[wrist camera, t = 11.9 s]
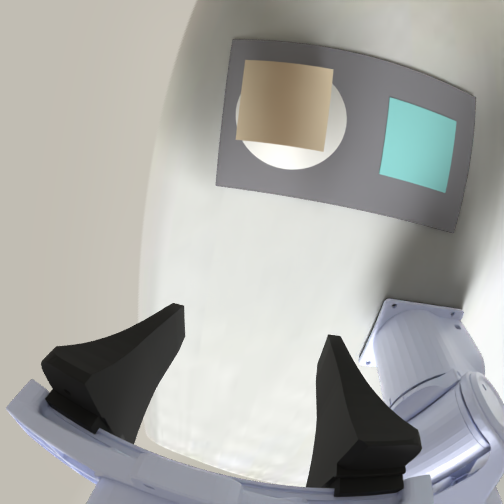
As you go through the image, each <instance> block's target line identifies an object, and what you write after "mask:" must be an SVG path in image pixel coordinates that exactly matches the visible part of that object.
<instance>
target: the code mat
mask: <svg viewBox="0 0 504 504" xmlns="http://www.w3.org/2000/svg"><path fill="white" fill-rule="evenodd" d="M245 60H259V61H274V62H285V63H294V64H302V65H309V66H316V67H322V68H328V69H333V80H332V89H331V99H330V107H329V115H328V123H327V131H326V138H325V145H324V152H321V151H316V150H310V149H304V148H298V147H291V146H285V145H277V144H270V143H262V142H253V141H243V140H236V132H237V123H238V115H239V106H240V98H241V90H242V82H243V74H244V66H245ZM475 110H476V97H474V96H472V95H471V94H469V93H467V92H465V91H463V90H461V89H458V88H456V87H454V86H452V85H450V84H448V83H445V82H443V81H441V80H438V79H436V78H434V77H431V76H429V75H426V74H424V73H421V72H418V71H416V70H413V69H410V68H407V67H404V66H401V65H398V64H395V63H392V62H388V61H385V60H382V59H378V58H374V57H371V56H367V55H363V54H359V53H354V52H350V51H345V50H340V49H335V48H329V47H324V46H317V45H311V44H303V43H294V42H284V41H272V40H249V39H233V40H232V47H231V54H230V61H229V68H228V75H227V83H226V91H225V99H224V107H223V116H222V125H221V134H220V144H219V154H218V164H217V175H216V186H221V187H228V188H236V189H243V190H250V191H257V192H263V193H270V194H276V195H282V196H288V197H294V198H300V199H306V200H311V201H317V202H322V203H327V204H332V205H338V206H343V207H347V208H352V209H357V210H362V211H366V212H371V213H375V214H380V215H384V216H389V217H393V218H397V219H401V220H405V221H409V222H413V223H417V224H421V225H425V226H429V227H433V228H436V229H440V230H444V231H447V232H451V233H454V231H455V227H456V224H457V220H458V216H459V213H460V209H461V204H462V200H463V196H464V191H465V187H466V182H467V176H468V171H469V165H470V159H471V152H472V144H473V135H474V125H475Z"/></svg>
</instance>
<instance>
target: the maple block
mask: <svg viewBox="0 0 504 504" xmlns="http://www.w3.org/2000/svg"><path fill="white" fill-rule="evenodd" d="M332 80H333V69H328V68H322V67H316V66H309V65H302V64H294V63H285V62H274V61H259V60H245V66H244V74H243V82H242V90H241V98H240V106H239V115H238V123H237V132H236V140H243V141H253V142H262V143H270V144H277V145H285V146H291V147H298V148H304V149H310V150H316V151H321V152H324V145H325V138H326V131H327V123H328V115H329V107H330V99H331V89H332Z"/></svg>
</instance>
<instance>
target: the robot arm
mask: <svg viewBox="0 0 504 504" xmlns="http://www.w3.org/2000/svg"><path fill="white" fill-rule="evenodd" d="M393 304H396V305H395V306H392V305H393ZM451 313H453V314H451ZM463 314H464V312H463V310H462V309H457V308H450V307H443V306H436V305H429V304H422V303H415V302H409V301H402V300H396V299H387V300H385V301H384V303H383V306H382V308H381V311H380V313H379V316H378V318H377V321H376V323H375V325H374V328H373V330H372V332H371V335H370V337H369V339H368V341H367V344H366V346H365V348H364V350H363V352H362V354H361V356H360V359H359V364H360V365H362V366H373V367H377V370H378V375H379V380H380V386H381V391H382V397H383V401H382V400H381V399H380V397H379V396H378V395H377V394H376V393H375V392H374V390H373V389H372V388H371V387H370V385H369V384H368V383H367V381H366V380H365V378H364V377H363V375H362V374H361V372H360V371H359V369H358V368H357V366H356V364H355V362H354V361H353V359H352V357H351V355H350V353H349V352H348V350H347V348H346V346H345V344H344V342H343V340H342V338H341V337H340V336H335V335H328V337H327V340H326V342H325V345H324V348H323V351H322V353H321V356H320V359H319V361H318V364H317V375H316V404H317V424H316V434H315V442H314V448H313V455H312V461H311V466H310V471H309V476H308V480H307V484H306V487H296V486H286V485H277V484H269V483H263V482H256V481H251V480H246V479H241V478H236V477H231V476H226V475H222V474H218V473H214V472H210V471H207V470H203V469H200V468H196V467H193V466H190V465H186V464H183V463H180V462H177V461H174V460H171V459H168V458H166V457H163V456H160V455H158V454H155V453H153V452H150V451H148V450H145V449H143V448H140V447H138V446H136V445H134V442H135V439H136V436H137V433H138V430H139V428H140V425H141V422H142V420H143V417H144V414H145V412H146V410H147V407H148V405H149V403H150V400H151V398H152V396H153V394H154V392H155V389H156V388H157V386H158V384H159V382H160V381H161V379H162V377H163V376H164V374H165V372H166V371H167V369H168V368H169V366H170V365H171V363H172V361H173V360H174V358H175V356H176V355H177V353H178V351H179V349H180V347H181V345H182V342H183V340H184V338H185V322H184V306H183V305H179V304H175V303H172V304H171V305H169V306H167V307H165V308H164V309H162V310H161V311H159V312H157V313H156V314H154V315H152V316H150V317H149V318H147V319H145V320H144V321H142V322H140V323H138V324H136V325H134V326H132V327H130V328H128V329H126V330H124V331H121V332H119V333H116V334H114V335H111V336H108V337H105V338H102V339H99V340H95V341H91V342H87V343H82V344H76V345H67V346H57V347H55V348H54V349H53V350H52V351H51V352H50V353H49V354H48V355H47V356H46V357H45V358H44V359H43V360H42V362H41V366H42V369H43V372H44V374H45V376H46V378H47V380H48V381H49V383H50V385H51V386H52V388H53V390H52V391H51V392H50V393H49V391H48V390H47V389H45V388H44V387H43V386H41V385H40V384H39V383H37V382H36V381H35V380H33V379H31V380H30V381H29V382H28V383H27V384H26V385H25V386H24V387H23V389H22V390H21V391H20V392H19V393H18V394H17V395H16V397H15V398H14V399H13V400H12V401H11V402H10V404H9V405H8V406H7V407H6V409H7V411H8V412H9V413H10V414H11V416H12V417H13V418H14V419H15V420H16V422H17V423H18V424H19V425H20V426H21V427H22V429H23V430H24V431H25V432H26V433H27V434H28V435H29V436H30V437H31V438H33V439H34V440H35V441H36V442H37V443H38V444H40V445H41V446H42V447H44V448H45V449H46V450H47V451H49V452H50V453H51V454H52V455H54V456H55V457H56V458H58V459H59V460H60V461H62V462H63V463H64V464H66V465H67V466H69V467H70V468H71V469H73V470H75V471H76V472H77V473H79V474H80V475H82V476H83V477H85V478H86V479H88V480H90V481H92V482H93V483H95V484H96V487H95V489H94V490H93V492H92V494H91V496H90V497H89V499H88V501H87V503H86V504H503V503H502V500H501V498H500V495H499V493H498V490H497V488H496V485H497V484H498V482H499V481H500V479H501V477H502V476H503V474H504V404H503V402H502V400H501V398H500V396H499V394H498V393H497V391H496V389H495V388H494V387H493V385H492V384H491V383H490V381H489V380H488V379H487V378H486V377H485V365H484V360H483V357H482V355H481V353H480V351H479V349H478V348H477V346H476V344H475V343H474V341H473V339H472V338H471V336H470V334H469V333H468V331H467V330H466V328H465V326H464V325H463V323H462V322H461V319H462V317H463ZM367 361H369V362H367Z"/></svg>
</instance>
